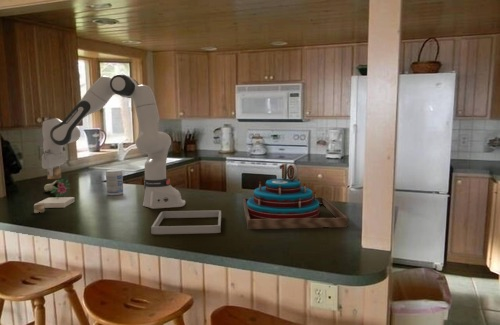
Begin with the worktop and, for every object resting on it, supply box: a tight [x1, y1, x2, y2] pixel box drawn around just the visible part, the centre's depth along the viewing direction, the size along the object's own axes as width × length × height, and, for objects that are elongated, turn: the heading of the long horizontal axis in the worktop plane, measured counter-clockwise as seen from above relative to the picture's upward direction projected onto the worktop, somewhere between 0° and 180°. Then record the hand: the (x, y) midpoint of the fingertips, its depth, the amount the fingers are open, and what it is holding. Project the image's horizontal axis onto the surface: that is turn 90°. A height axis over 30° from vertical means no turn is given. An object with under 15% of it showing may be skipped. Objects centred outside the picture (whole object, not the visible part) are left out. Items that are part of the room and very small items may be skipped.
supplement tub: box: [105, 169, 124, 196], centre depth 238 cm, size 10×10×15 cm
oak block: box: [46, 167, 62, 180], centre depth 209 cm, size 5×5×5 cm
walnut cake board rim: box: [242, 196, 349, 230], centre depth 188 cm, size 43×43×4 cm
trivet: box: [37, 196, 76, 209], centre depth 211 cm, size 14×14×2 cm
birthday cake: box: [247, 162, 320, 219], centre depth 190 cm, size 35×35×24 cm
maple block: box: [33, 202, 46, 214], centre depth 196 cm, size 4×4×4 cm
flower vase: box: [43, 178, 71, 197], centre depth 235 cm, size 12×12×35 cm
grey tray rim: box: [150, 210, 222, 235], centre depth 172 cm, size 28×26×3 cm
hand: (54, 174), depth 210 cm, fingers closed on oak block, 5 cm apart
